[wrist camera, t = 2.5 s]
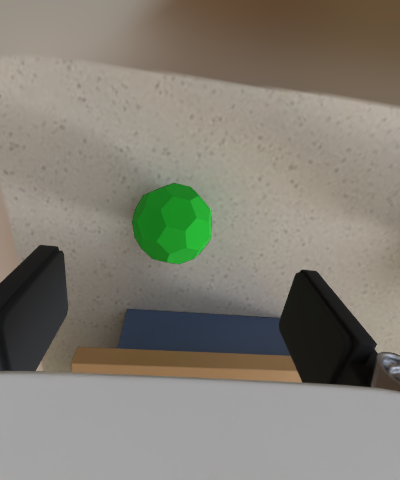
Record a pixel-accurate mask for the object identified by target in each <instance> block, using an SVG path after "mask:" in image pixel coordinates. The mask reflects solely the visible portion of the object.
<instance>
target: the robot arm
mask: <svg viewBox="0 0 400 480" xmlns="http://www.w3.org/2000/svg"><path fill="white" fill-rule="evenodd" d="M67 311H68V301H67V288H66V276H65V263H64V253H63V251H59V249H58V247H56V246H45V245H40V246H39V247H38V248H36V249H35V250H34V251H33V252H32V253H31V254H30V255H29V256H28V257H27V258H26V259H25V260H24V261H23V262H22V263H21V264H20V265H19V266H18V267H17V268H16V269H15V270H14V271H13V272H12V273H10V274H9V275H8V276H7V277H6V278H5V279H4V280H3V281H2V282H1V283H0V480H400V355H398V354H395V353H391V352H381V353H379V354H378V353H377V352H376V351H375V347H376V345H377V344H376V342H375V341H374V340H373V339H372V338H371V336H370V335H369V334H368V333H367V331H366V330H365V329H364V328H363V327H362V325H361V324H360V323H359V322H358V321H357V319H356V318H355V317H354V316H353V315H352V313H351V312H350V311H349V310H348V309H347V307H346V306H345V305H344V304H343V302H342V301H341V300H340V299H339V298H338V296H337V295H336V294H335V293H334V292H333V290H332V289H331V288H330V287H329V286H328V284H327V283H326V282H325V281H324V280H323V278H322V277H321V276H320V275H319V273H318V272H316V271H310V270H301V271H300V272H299V273H296V275H295V277H294V280H293V283H292V286H291V289H290V292H289V295H288V298H287V301H286V303H285V306H284V309H283V312H282V315H281V318H280V321H279V330H280V333H281V335H282V337H283V340H284V342H285V344H286V346H287V349H288V351H289V353H290V356H291V358H292V360H293V362H294V365H295V367H296V369H297V372H298V374H299V376H300V378H301V381H302V383H300V382H280V381H261V380H241V379H219V378H197V377H175V376H152V375H126V374H101V373H75V372H46V371H36V369H37V367H38V365H39V364H40V362H41V360H42V358H43V357H44V355H45V353H46V351H47V349H48V348H49V346H50V344H51V342H52V340H53V339H54V337H55V335H56V333H57V331H58V330H59V328H60V326H61V324H62V323H63V321H64V319H65V317H66V315H67Z"/></svg>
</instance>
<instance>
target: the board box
mask: <svg viewBox="0 0 400 480" xmlns="http://www.w3.org/2000/svg"><path fill="white" fill-rule="evenodd" d="M279 321H280V318H268V317H252V316H235V315H219V314H202V313H185V312H169V311H152V310H136V309H127V312H126V316H125V320H124V324H123V328H122V332H121V336H120V340H119V344H118V348H117V349H115V348H91V347H78V348H77V350H76V352H75V355H74V357H73V359H72V362H71V370H72V372H75V373H101V374H126V375H152V376H175V377H197V378H219V379H241V380H261V381H280V382H300V383H302V381H301V378H300V376H299V374H298V372H297V369H296V367H295V365H294V362H293V360H292V358H291V356H290V353H289V351H288V349H287V346H286V344H285V342H284V340H283V337H282V335H281V333H280V330H279Z"/></svg>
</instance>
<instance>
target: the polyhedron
mask: <svg viewBox="0 0 400 480" xmlns="http://www.w3.org/2000/svg"><path fill="white" fill-rule="evenodd" d="M132 225H133V231H134V237H135V239H136V241H137V242H138V244H139V246H140V247H141V249H142V250H143V251H145V252H146V253H147V254H148V255H149V256H150V257H151V258H152V259H155V260H159V261H163V262H168V263H175V264H181V263H184V262H187V261H189V260H192V259H194V258H195V257H196V256H197V255H199V254H200V253H201V252H202V250H203V249H204V248H205V246H206V245H207V243H208V242H209V241H210V239H211V229H212V221H211V210H210V208H209V207H208V206H207V204H206V203H205V202H204V201H203V200H202V198H201V197H200V196H199V195H198V194H197V193H196V192H195V191H194V190H193V189H192V188H191V187H188V186H184V185H180V184H176V183H173V184H170V185H167V186H164V187H162V188H159V189H157V190H154V191H152V192H150V193H147V194H145V195H143V197H142V199H141V200H140V202H139V204H138V205H137V207H136V209H135V212H134V216H133V220H132Z"/></svg>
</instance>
